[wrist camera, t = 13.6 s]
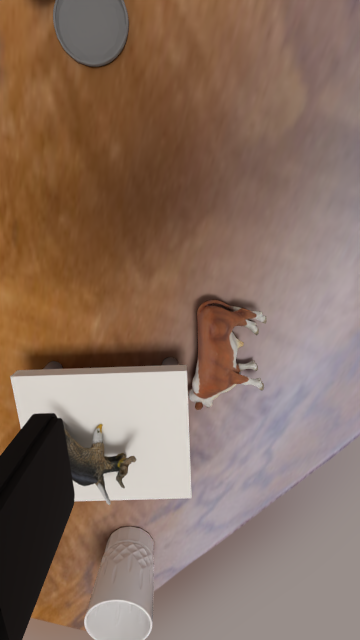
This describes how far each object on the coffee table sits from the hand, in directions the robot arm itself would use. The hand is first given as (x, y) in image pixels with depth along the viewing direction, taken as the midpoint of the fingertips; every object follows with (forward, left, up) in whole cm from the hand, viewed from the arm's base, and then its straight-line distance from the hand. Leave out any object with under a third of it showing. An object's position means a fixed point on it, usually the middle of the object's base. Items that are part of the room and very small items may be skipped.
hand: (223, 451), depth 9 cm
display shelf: (+10, +16, -28) cm, 34 cm away
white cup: (+10, +38, -28) cm, 49 cm away
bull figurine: (-8, +9, -26) cm, 29 cm away
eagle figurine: (+12, +16, -22) cm, 30 cm away
